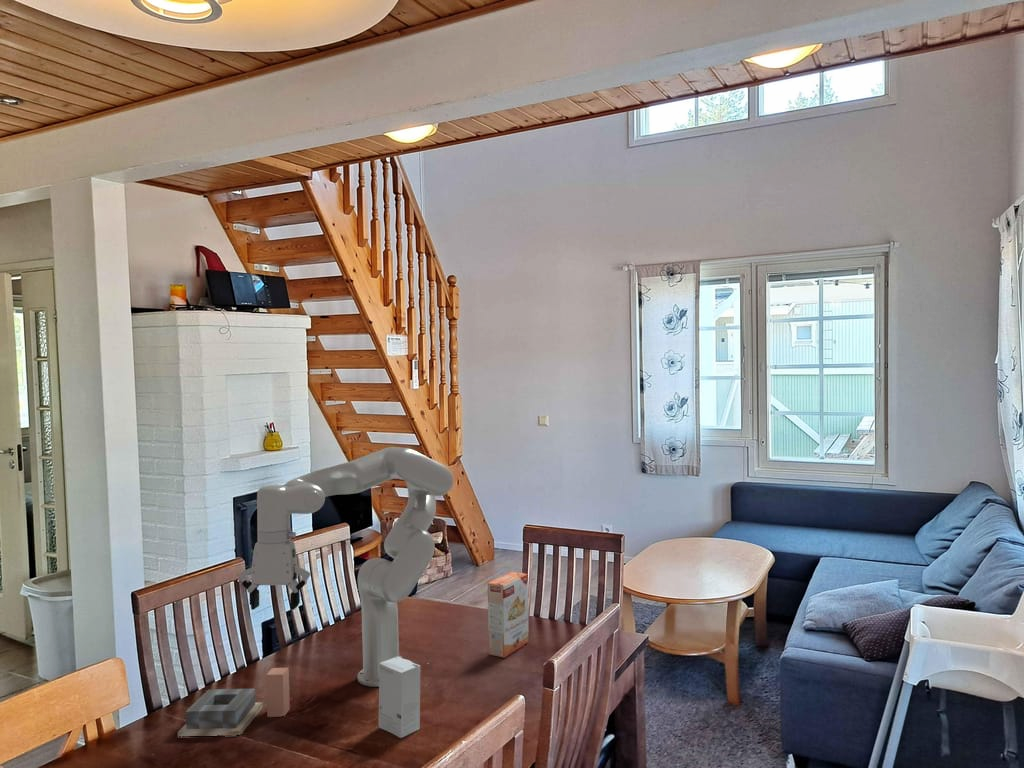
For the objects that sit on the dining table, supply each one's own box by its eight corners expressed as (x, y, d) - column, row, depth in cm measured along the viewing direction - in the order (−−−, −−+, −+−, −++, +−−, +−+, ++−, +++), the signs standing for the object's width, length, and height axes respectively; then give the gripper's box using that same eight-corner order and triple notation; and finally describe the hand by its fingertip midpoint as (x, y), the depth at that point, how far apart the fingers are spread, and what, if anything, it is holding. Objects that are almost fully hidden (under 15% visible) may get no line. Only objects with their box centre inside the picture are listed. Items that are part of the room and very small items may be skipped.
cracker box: (505, 659, 195) (503, 585, 195) (487, 655, 198) (485, 582, 199) (530, 642, 207) (528, 573, 207) (513, 639, 210) (511, 570, 210)
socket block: (262, 707, 170) (262, 686, 170) (239, 736, 156) (238, 713, 156) (206, 708, 170) (205, 687, 170) (177, 737, 156) (177, 714, 156)
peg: (289, 708, 169) (288, 667, 169) (284, 716, 165) (282, 674, 165) (273, 709, 169) (272, 668, 169) (267, 716, 165) (266, 674, 165)
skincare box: (378, 728, 158) (376, 663, 158) (398, 718, 162) (396, 654, 162) (402, 739, 152) (400, 672, 152) (422, 728, 157) (421, 663, 157)
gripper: (314, 533, 171) (315, 603, 171) (245, 534, 172) (246, 603, 172) (303, 540, 163) (304, 612, 163) (232, 540, 164) (232, 612, 164)
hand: (274, 607), depth 167 cm, fingers open, 9 cm apart
